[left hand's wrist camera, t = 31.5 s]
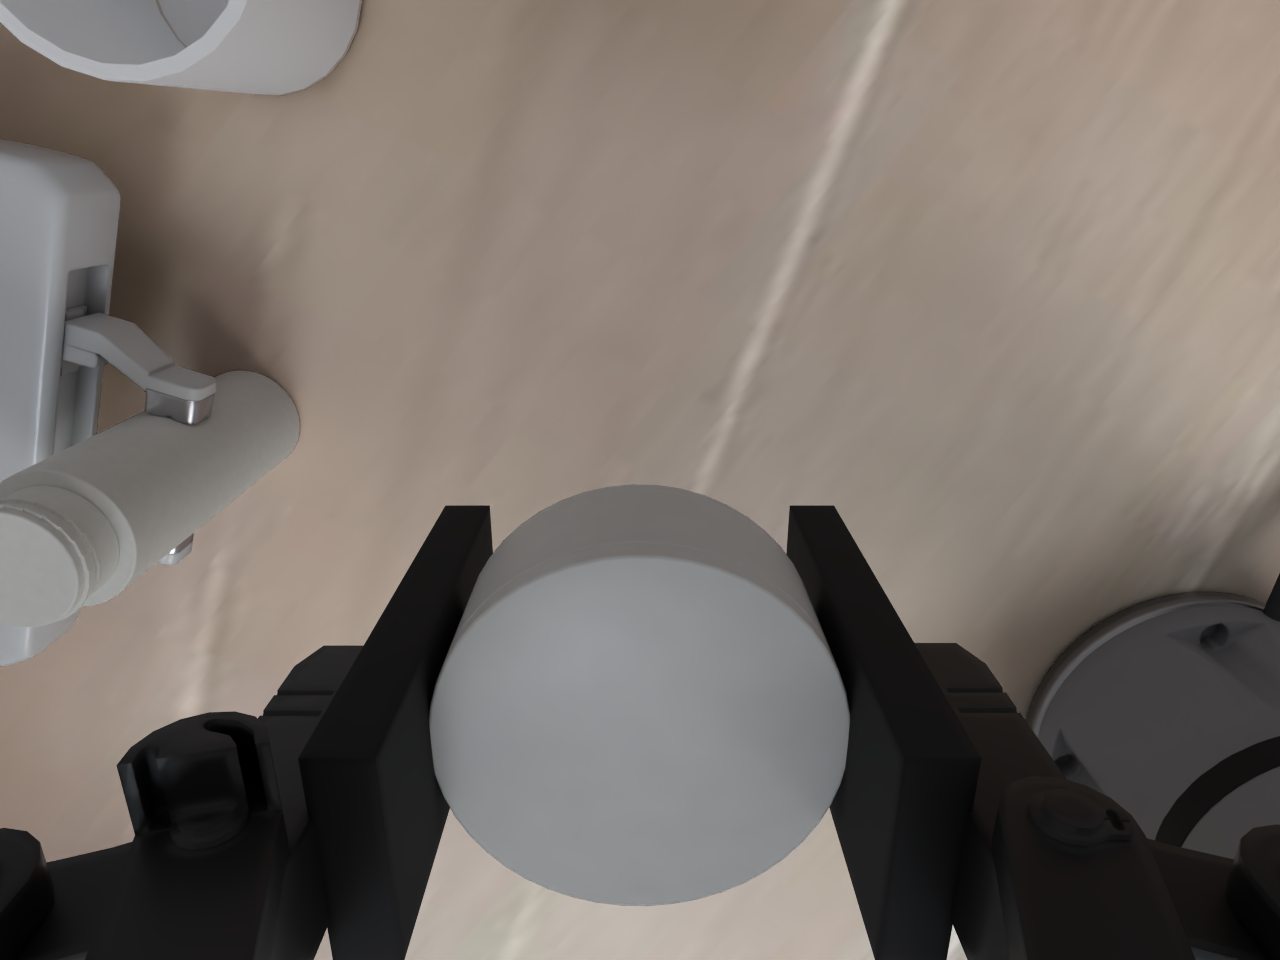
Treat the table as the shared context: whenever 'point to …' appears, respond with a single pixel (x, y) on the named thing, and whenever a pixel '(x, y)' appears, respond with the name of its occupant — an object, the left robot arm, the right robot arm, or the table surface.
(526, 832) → the lid
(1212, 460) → the table surface
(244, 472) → the grey bottle
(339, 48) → the mug
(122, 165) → the table surface
